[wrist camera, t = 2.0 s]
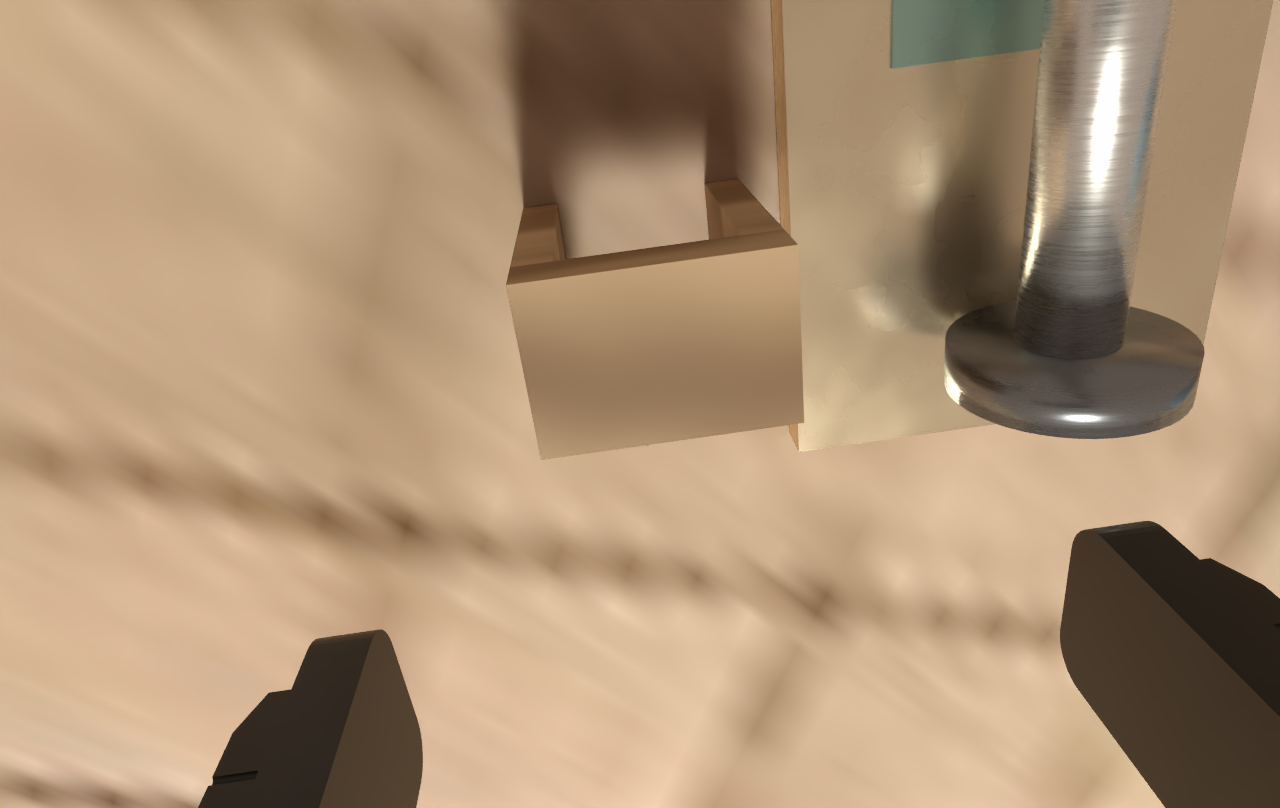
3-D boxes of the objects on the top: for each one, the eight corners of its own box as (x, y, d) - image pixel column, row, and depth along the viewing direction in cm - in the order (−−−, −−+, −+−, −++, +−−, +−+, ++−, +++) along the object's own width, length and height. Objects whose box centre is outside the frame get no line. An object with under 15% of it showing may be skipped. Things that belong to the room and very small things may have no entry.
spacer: (523, 208, 22) (506, 285, 16) (737, 178, 22) (798, 244, 16) (548, 345, 24) (541, 460, 18) (746, 317, 24) (804, 422, 18)
